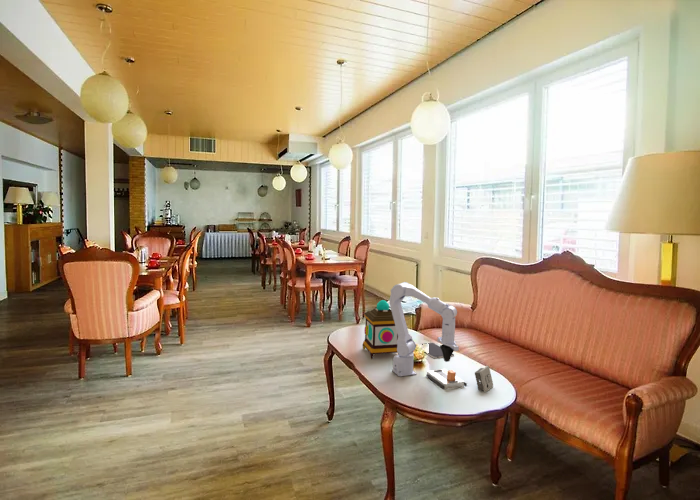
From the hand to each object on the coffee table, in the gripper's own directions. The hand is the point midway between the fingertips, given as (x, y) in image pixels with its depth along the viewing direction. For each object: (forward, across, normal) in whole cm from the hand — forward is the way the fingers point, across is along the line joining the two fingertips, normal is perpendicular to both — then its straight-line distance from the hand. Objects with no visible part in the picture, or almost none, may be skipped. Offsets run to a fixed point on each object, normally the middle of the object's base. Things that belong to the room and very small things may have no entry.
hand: (446, 361), depth 190 cm
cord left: (+10, +1, +5) cm, 11 cm away
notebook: (+11, +39, -17) cm, 44 cm away
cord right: (+10, +1, -7) cm, 12 cm away
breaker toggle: (+7, -4, 0) cm, 8 cm away
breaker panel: (+10, +1, 0) cm, 10 cm away
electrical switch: (+10, -11, -13) cm, 20 cm away
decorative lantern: (+10, +44, +13) cm, 47 cm away
